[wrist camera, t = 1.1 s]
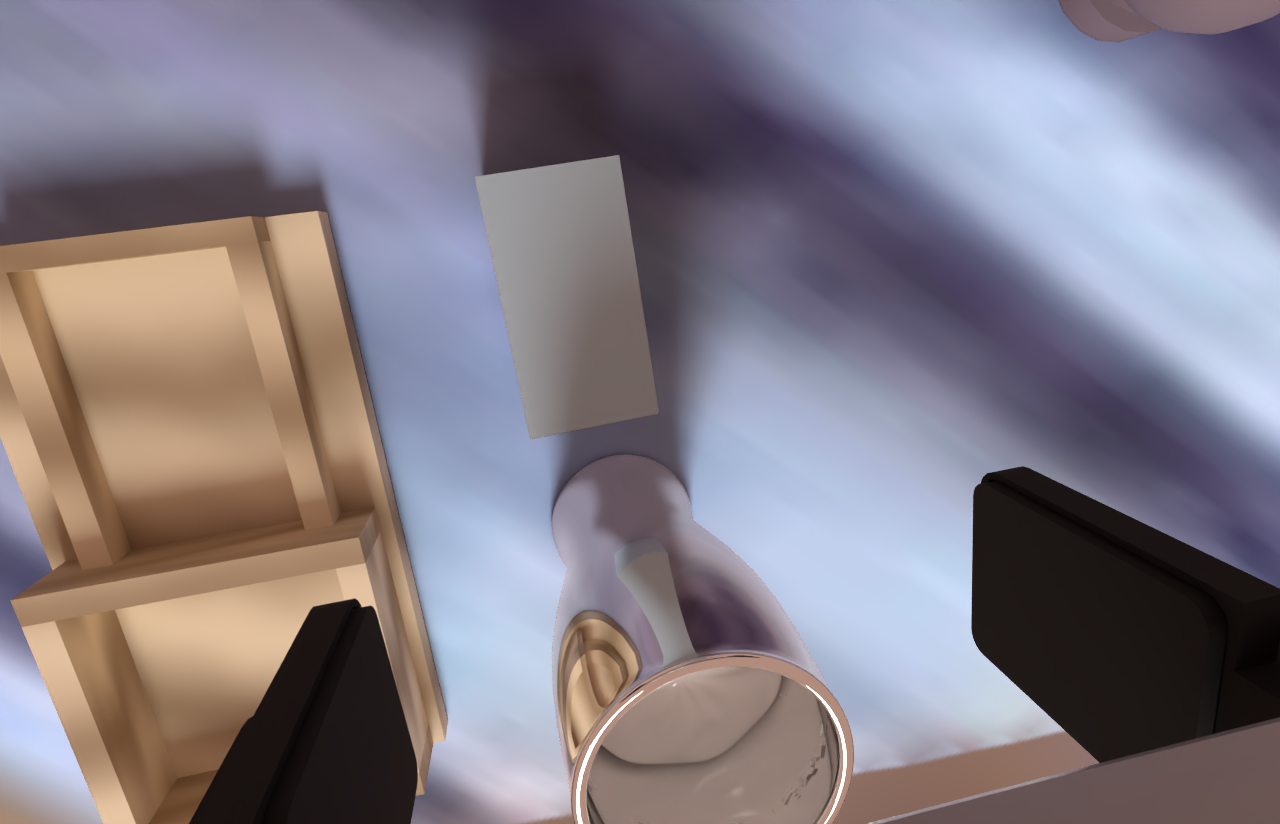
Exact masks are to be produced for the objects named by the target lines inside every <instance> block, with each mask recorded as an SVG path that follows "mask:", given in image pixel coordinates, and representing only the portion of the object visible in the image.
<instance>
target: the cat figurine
mask: <svg viewBox="0 0 1280 824" xmlns="http://www.w3.org/2000/svg"><path fill="white" fill-rule="evenodd" d="M1059 2H1060V4H1061V7H1062V9H1063V12H1064V13H1065V15H1066V16H1067V17H1068V18H1069V19H1070V21H1071V22H1072V23H1073V24H1074V25H1075V26H1076V28H1077V29H1078V30H1079V31H1081V32H1083V33H1085V34H1087V35H1089V36H1091V37H1092V38H1094V39H1096V40H1100V41H1112V42H1120V41H1124V40H1127V39H1130V38H1134V37H1137V36H1140V35H1143V34H1146V33H1149V32H1152V31H1155V30H1158V29H1161V28H1163V29H1166V30H1168V31H1171V32H1185V33H1198V34H1218V33H1223V32H1228V31H1231V30H1235V29H1238V28H1241V27H1245V26H1248V25H1252V24H1255V23H1258V22H1261V21H1264V20H1266V19H1269V18H1271V17H1274V16H1275V15H1277V14H1278V13H1280V0H1059Z"/></svg>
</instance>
